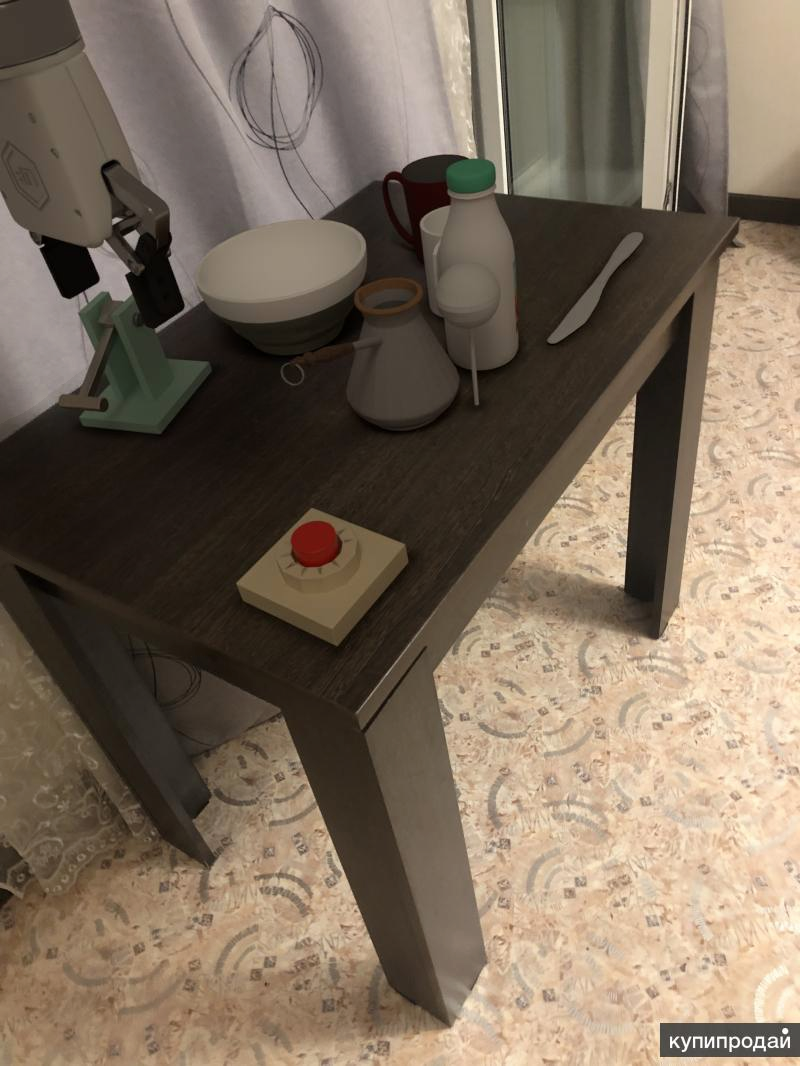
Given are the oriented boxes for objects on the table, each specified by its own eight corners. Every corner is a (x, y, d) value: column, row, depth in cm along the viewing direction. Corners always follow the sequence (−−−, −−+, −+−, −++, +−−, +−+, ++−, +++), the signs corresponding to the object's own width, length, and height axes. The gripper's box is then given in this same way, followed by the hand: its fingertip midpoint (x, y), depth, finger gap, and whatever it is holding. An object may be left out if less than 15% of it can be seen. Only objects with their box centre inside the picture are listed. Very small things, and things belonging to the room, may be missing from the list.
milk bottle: (515, 372, 86) (508, 180, 72) (443, 373, 87) (422, 185, 73) (521, 333, 91) (515, 147, 77) (453, 334, 93) (435, 153, 79)
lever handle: (108, 417, 82) (94, 405, 80) (68, 413, 83) (53, 401, 81) (146, 314, 85) (134, 301, 83) (107, 312, 87) (94, 299, 85)
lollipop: (488, 427, 80) (478, 286, 69) (436, 414, 82) (419, 277, 72) (516, 393, 83) (510, 253, 73) (465, 381, 86) (453, 245, 75)
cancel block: (337, 647, 63) (327, 613, 60) (242, 600, 67) (229, 568, 65) (408, 562, 68) (402, 528, 65) (316, 525, 73) (307, 492, 70)
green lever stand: (160, 434, 86) (119, 336, 78) (82, 426, 89) (35, 331, 81) (212, 370, 94) (179, 275, 86) (139, 365, 97) (101, 272, 89)
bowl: (288, 280, 108) (271, 209, 101) (410, 308, 98) (400, 231, 92) (184, 356, 97) (157, 282, 90) (310, 395, 88) (290, 316, 81)
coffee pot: (386, 368, 89) (363, 237, 79) (480, 387, 84) (470, 250, 74) (273, 489, 77) (230, 353, 67) (377, 520, 72) (347, 378, 62)
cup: (408, 333, 94) (396, 251, 87) (442, 282, 102) (434, 202, 95) (475, 339, 91) (469, 255, 84) (506, 286, 99) (502, 205, 92)
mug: (380, 267, 107) (366, 182, 99) (404, 236, 113) (393, 154, 105) (467, 271, 103) (460, 183, 95) (487, 239, 108) (482, 154, 101)
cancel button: (321, 574, 63) (316, 558, 62) (286, 558, 65) (281, 543, 64) (348, 544, 65) (344, 529, 64) (314, 530, 67) (309, 515, 66)
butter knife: (653, 233, 102) (630, 228, 103) (565, 346, 87) (540, 339, 89) (652, 237, 103) (629, 233, 104) (565, 350, 88) (539, 344, 89)
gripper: (-122, 46, 49) (12, 303, 61) (41, 63, 40) (160, 360, 52) (-14, 10, 53) (92, 258, 64) (156, 17, 44) (242, 304, 56)
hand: (122, 303), depth 58 cm, fingers open, 9 cm apart
